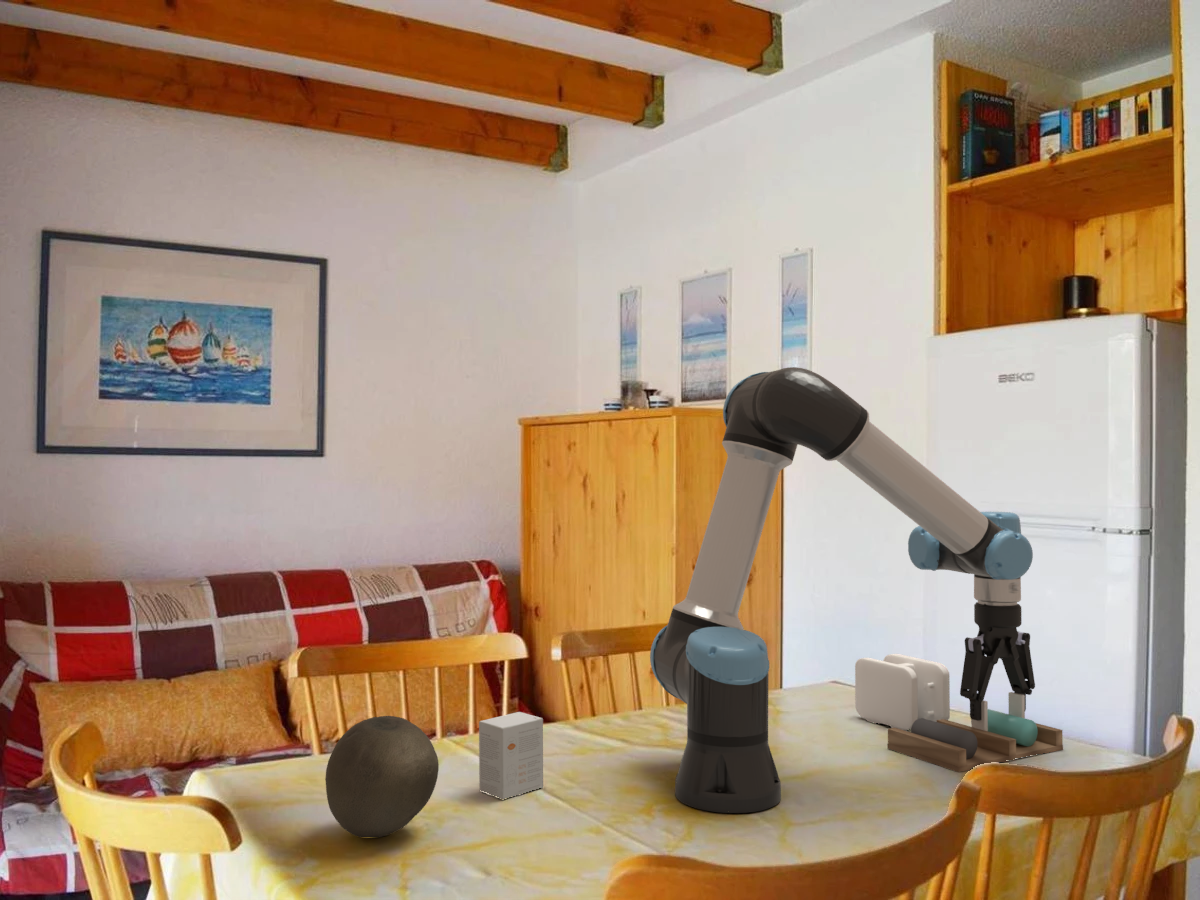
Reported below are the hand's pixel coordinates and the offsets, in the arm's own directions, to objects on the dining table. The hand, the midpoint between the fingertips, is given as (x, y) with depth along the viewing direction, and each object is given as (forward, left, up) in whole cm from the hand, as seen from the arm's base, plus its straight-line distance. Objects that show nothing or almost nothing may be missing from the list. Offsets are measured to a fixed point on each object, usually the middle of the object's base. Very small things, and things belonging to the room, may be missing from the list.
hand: (998, 735), depth 174 cm
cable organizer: (-3, +19, -2) cm, 19 cm away
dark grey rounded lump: (-104, +11, -2) cm, 105 cm away
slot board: (-6, 0, -2) cm, 6 cm away
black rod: (-12, 0, +1) cm, 12 cm away
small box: (-82, +19, -2) cm, 84 cm away
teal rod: (-1, 0, 0) cm, 1 cm away
